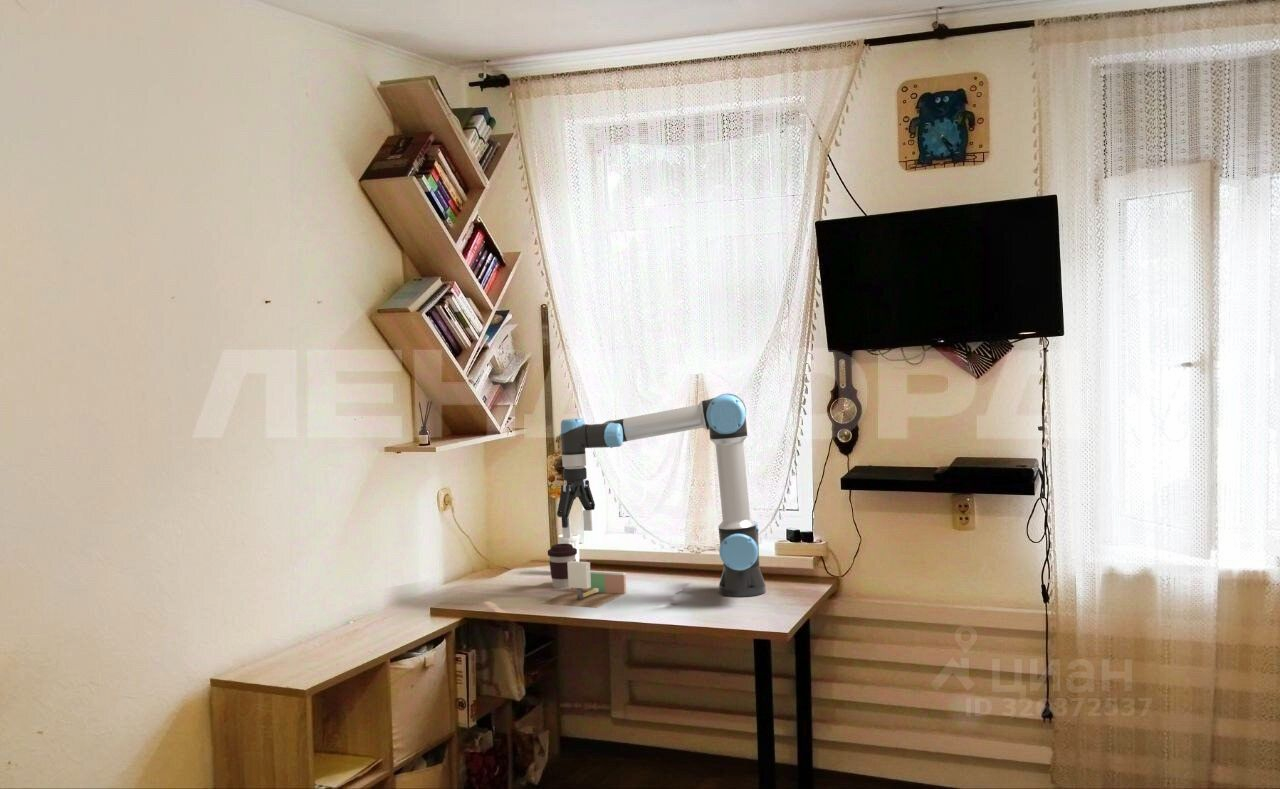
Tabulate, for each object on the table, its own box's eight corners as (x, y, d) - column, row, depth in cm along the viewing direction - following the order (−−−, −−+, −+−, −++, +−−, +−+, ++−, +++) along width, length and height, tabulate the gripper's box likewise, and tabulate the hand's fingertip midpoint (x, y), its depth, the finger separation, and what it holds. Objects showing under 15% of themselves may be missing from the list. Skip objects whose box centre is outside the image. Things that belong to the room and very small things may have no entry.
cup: (559, 572, 373) (558, 534, 373) (581, 571, 374) (580, 532, 373) (559, 577, 365) (557, 537, 365) (581, 576, 365) (580, 536, 365)
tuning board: (626, 596, 330) (626, 592, 330) (596, 611, 311) (595, 607, 311) (573, 592, 339) (573, 589, 339) (540, 607, 320) (540, 603, 320)
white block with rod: (587, 601, 320) (585, 563, 320) (569, 599, 324) (567, 562, 323) (606, 593, 330) (604, 557, 329) (588, 592, 333) (586, 555, 333)
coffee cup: (560, 593, 338) (558, 548, 338) (543, 589, 346) (541, 545, 345) (584, 588, 345) (582, 544, 344) (566, 584, 352) (564, 541, 352)
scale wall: (626, 592, 330) (625, 572, 330) (624, 593, 329) (623, 573, 328) (572, 589, 339) (571, 569, 338) (570, 590, 337) (569, 570, 337)
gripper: (583, 463, 334) (586, 527, 335) (543, 471, 312) (547, 540, 313) (603, 463, 331) (606, 527, 332) (564, 471, 309) (568, 541, 309)
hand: (577, 534), depth 322 cm, fingers open, 13 cm apart
